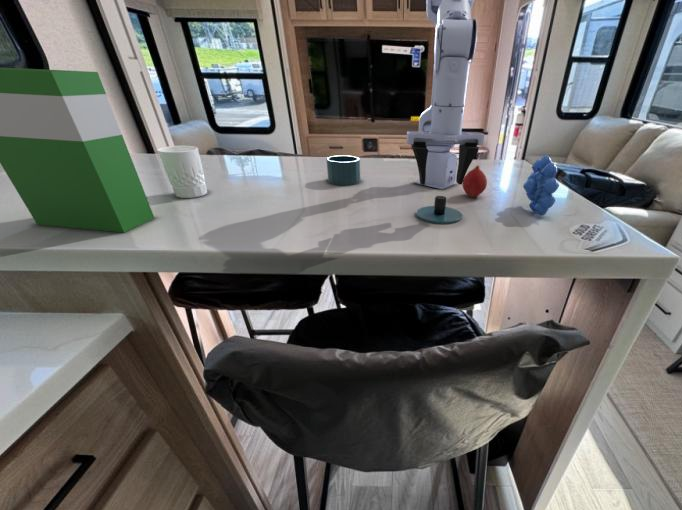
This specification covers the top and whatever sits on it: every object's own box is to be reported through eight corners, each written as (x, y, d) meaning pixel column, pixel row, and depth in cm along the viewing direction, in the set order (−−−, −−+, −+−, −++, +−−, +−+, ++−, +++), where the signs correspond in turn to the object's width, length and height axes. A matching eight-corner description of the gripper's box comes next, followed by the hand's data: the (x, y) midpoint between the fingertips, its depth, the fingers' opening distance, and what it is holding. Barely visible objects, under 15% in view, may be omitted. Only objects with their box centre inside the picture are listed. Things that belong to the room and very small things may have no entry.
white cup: (164, 196, 78) (148, 149, 72) (193, 187, 84) (180, 144, 78) (189, 201, 75) (174, 153, 70) (217, 192, 82) (205, 147, 76)
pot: (362, 177, 98) (361, 156, 94) (357, 186, 90) (357, 162, 87) (331, 176, 98) (330, 154, 94) (325, 184, 90) (323, 161, 87)
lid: (458, 211, 76) (461, 191, 73) (464, 227, 68) (467, 206, 65) (415, 209, 76) (416, 189, 73) (416, 225, 68) (417, 203, 65)
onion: (456, 196, 86) (460, 163, 81) (474, 194, 88) (479, 161, 83) (469, 203, 81) (474, 168, 77) (488, 200, 83) (494, 167, 79)
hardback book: (37, 224, 62) (-58, 66, 48) (74, 211, 68) (-1, 67, 54) (124, 232, 60) (51, 71, 47) (154, 218, 66) (97, 71, 53)
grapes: (508, 203, 82) (519, 151, 75) (534, 204, 82) (548, 151, 76) (526, 221, 72) (541, 162, 65) (556, 221, 73) (574, 163, 66)
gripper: (412, 106, 56) (408, 188, 63) (495, 108, 58) (481, 188, 65) (406, 103, 62) (403, 179, 69) (481, 105, 64) (470, 179, 71)
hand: (440, 183), depth 68 cm, fingers open, 7 cm apart
